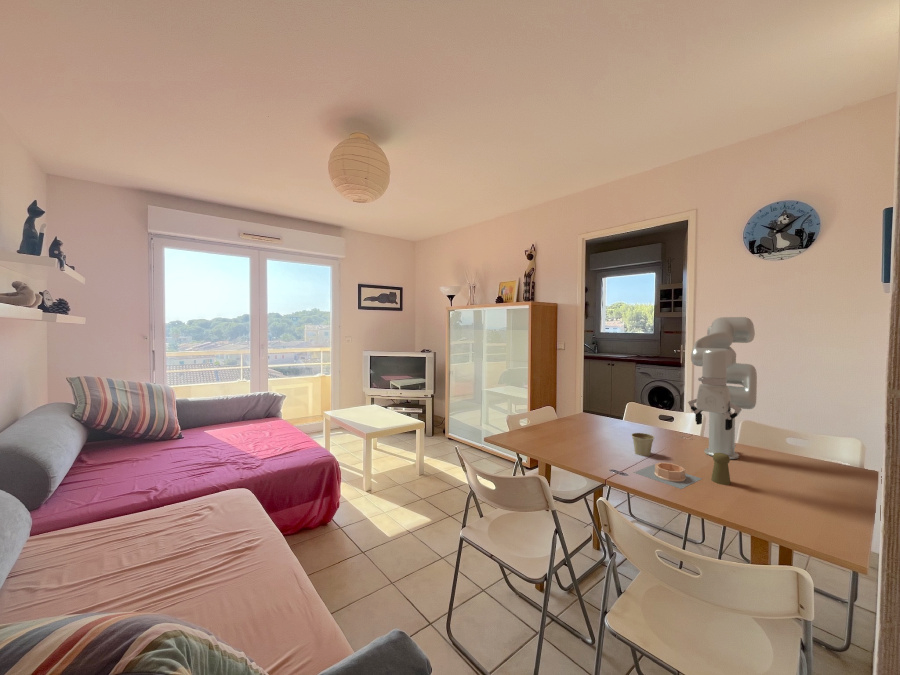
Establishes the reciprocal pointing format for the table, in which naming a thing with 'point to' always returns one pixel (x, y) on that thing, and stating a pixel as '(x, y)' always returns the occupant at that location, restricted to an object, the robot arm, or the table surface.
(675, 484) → the felt mat
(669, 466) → the peach octagonal bowl
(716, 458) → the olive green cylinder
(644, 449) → the flower pot
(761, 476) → the table surface
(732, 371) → the robot arm
